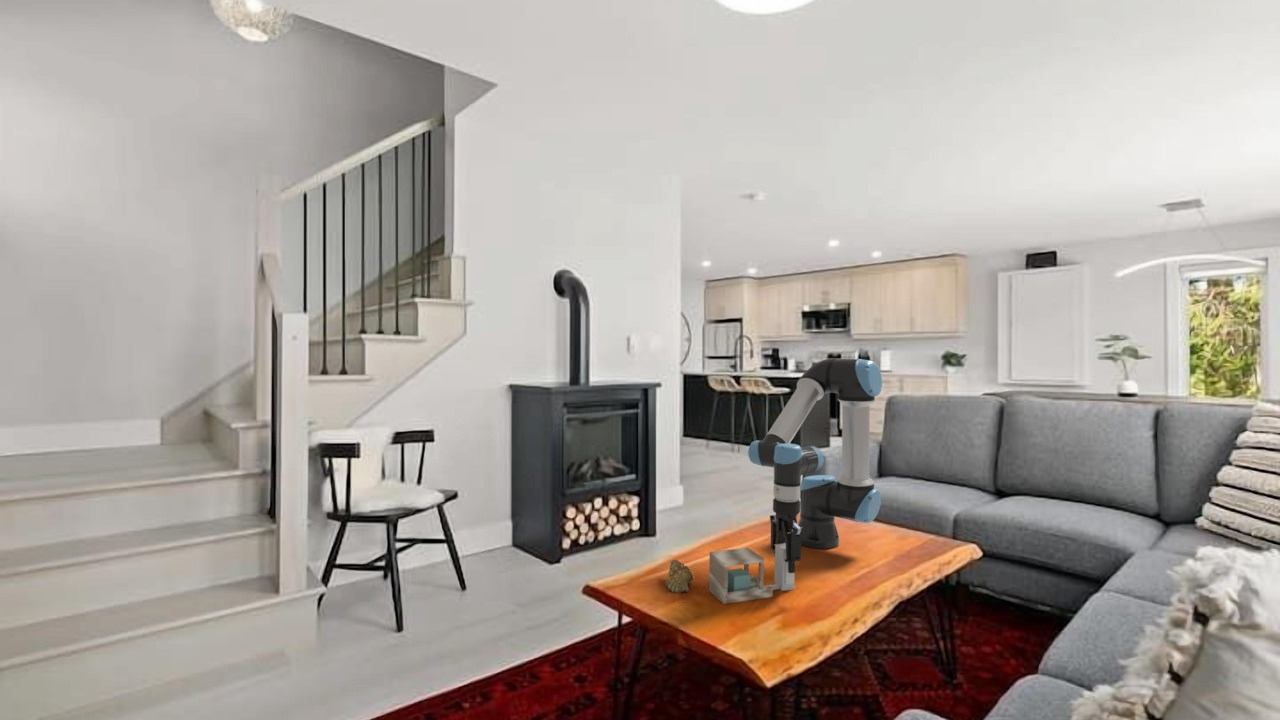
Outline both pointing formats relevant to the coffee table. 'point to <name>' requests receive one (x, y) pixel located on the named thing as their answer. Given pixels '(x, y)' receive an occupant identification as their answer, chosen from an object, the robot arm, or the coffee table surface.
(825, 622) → the coffee table surface
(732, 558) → the shelf
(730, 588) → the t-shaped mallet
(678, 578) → the seashell
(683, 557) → the coffee table surface
